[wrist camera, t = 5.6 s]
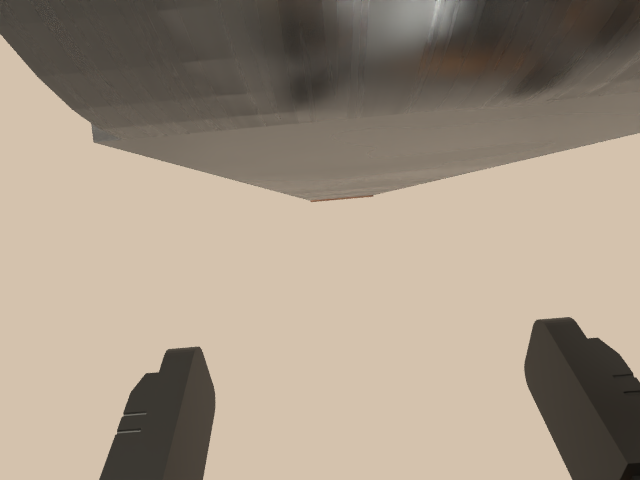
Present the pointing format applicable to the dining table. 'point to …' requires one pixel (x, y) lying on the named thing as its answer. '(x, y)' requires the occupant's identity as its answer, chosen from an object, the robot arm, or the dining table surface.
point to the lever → (338, 83)
